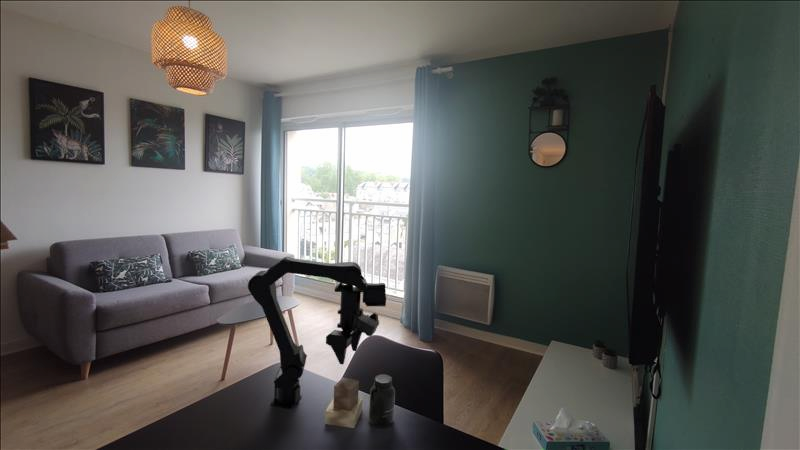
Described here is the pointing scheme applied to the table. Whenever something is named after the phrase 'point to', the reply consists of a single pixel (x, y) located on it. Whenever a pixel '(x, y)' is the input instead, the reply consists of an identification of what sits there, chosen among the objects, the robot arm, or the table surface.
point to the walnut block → (346, 394)
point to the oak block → (343, 415)
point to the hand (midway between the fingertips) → (348, 357)
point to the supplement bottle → (382, 401)
